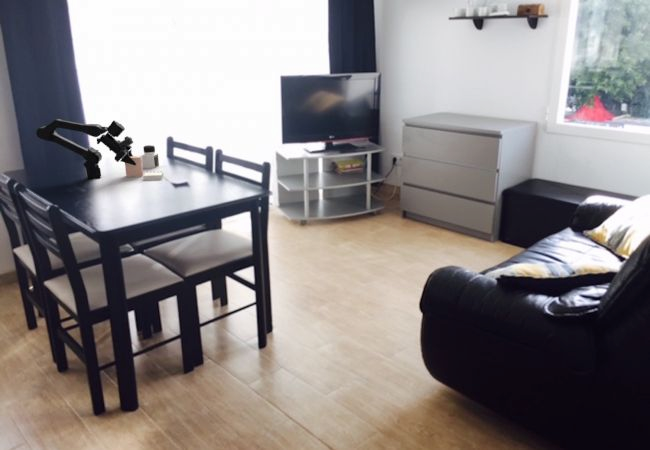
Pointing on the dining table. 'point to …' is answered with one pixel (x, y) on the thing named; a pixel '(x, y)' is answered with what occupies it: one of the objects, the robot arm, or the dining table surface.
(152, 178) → the board
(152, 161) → the medicine bottle
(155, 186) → the dining table surface
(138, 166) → the pink rectangular block
